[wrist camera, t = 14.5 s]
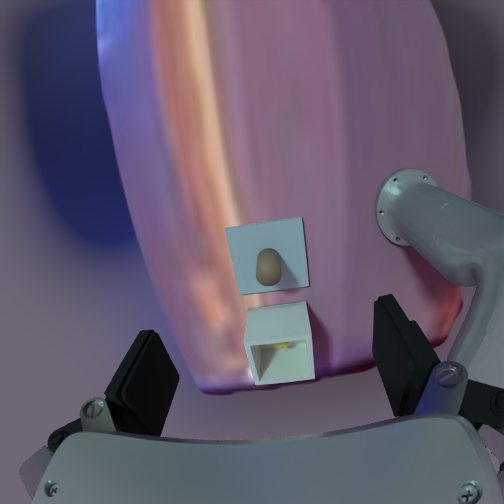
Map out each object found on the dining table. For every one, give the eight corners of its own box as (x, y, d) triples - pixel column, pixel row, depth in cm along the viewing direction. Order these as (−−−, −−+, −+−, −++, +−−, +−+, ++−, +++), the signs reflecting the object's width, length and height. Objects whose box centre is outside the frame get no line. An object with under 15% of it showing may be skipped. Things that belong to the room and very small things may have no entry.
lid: (301, 216, 42) (306, 229, 36) (308, 283, 46) (313, 304, 40) (226, 227, 44) (218, 242, 38) (240, 291, 48) (235, 313, 42)
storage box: (305, 301, 47) (311, 334, 39) (309, 344, 51) (314, 378, 43) (248, 308, 48) (243, 342, 40) (258, 350, 52) (255, 384, 44)
